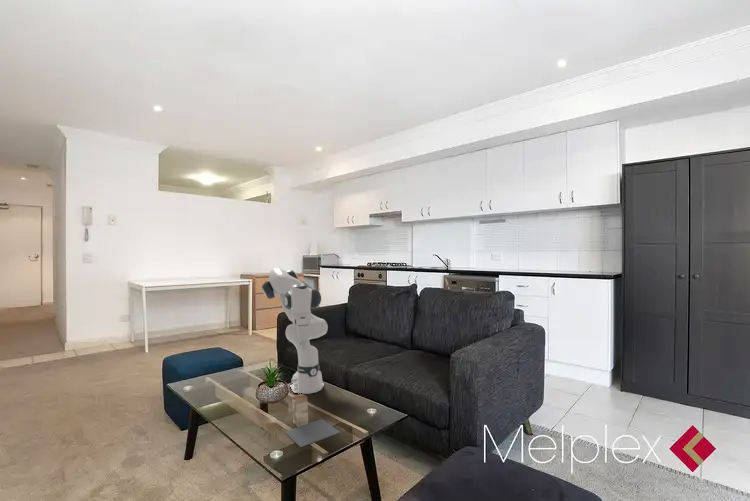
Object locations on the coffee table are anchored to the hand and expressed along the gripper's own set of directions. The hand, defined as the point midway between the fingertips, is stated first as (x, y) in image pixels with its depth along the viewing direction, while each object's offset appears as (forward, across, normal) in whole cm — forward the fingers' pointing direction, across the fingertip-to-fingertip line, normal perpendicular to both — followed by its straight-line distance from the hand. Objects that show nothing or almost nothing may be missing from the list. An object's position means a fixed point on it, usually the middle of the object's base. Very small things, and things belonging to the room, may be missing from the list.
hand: (302, 347), depth 175 cm
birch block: (+32, +10, -3) cm, 33 cm away
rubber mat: (+32, +20, +1) cm, 38 cm away
